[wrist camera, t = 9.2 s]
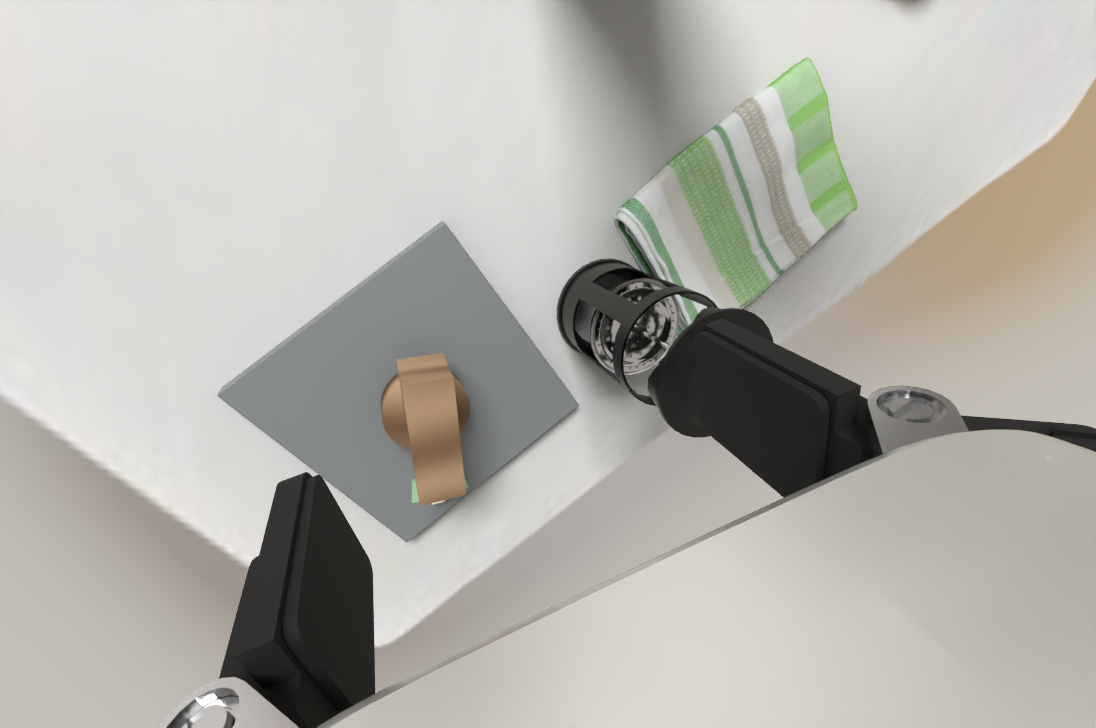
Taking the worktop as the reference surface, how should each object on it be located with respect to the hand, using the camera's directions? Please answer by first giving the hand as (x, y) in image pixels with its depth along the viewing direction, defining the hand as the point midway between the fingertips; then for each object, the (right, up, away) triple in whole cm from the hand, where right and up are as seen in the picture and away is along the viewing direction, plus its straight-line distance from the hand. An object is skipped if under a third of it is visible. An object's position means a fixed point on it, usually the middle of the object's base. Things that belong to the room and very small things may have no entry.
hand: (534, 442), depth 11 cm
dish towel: (+19, +17, +36) cm, 44 cm away
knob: (-10, -4, +30) cm, 32 cm away
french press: (+6, +7, +34) cm, 36 cm away
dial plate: (-11, -1, +31) cm, 33 cm away
